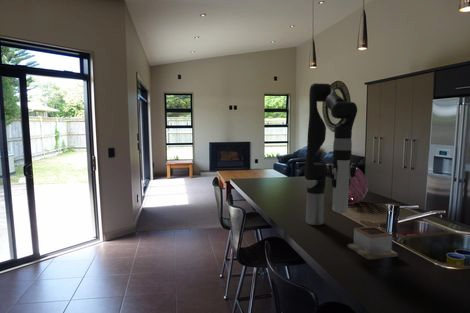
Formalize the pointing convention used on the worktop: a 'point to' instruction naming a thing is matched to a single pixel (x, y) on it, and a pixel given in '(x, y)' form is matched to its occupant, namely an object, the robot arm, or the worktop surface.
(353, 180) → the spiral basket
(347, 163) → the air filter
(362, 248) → the sleeve
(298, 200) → the worktop surface
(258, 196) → the worktop surface
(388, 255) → the base board
